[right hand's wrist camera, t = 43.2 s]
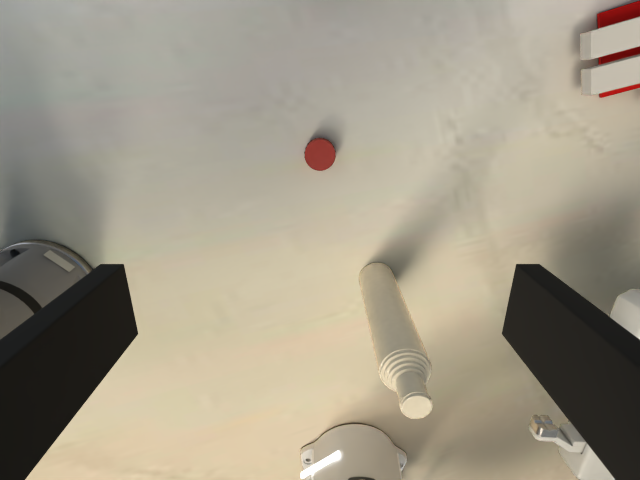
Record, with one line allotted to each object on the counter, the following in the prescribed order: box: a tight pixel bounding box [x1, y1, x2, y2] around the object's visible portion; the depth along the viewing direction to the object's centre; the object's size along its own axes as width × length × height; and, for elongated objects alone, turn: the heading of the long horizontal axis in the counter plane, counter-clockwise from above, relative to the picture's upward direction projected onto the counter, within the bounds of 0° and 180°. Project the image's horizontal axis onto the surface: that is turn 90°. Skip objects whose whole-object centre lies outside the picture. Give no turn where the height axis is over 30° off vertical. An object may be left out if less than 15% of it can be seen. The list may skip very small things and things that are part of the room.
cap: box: [305, 138, 336, 171], centre depth 46 cm, size 4×4×2 cm
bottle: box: [359, 263, 433, 419], centre depth 42 cm, size 5×5×24 cm
